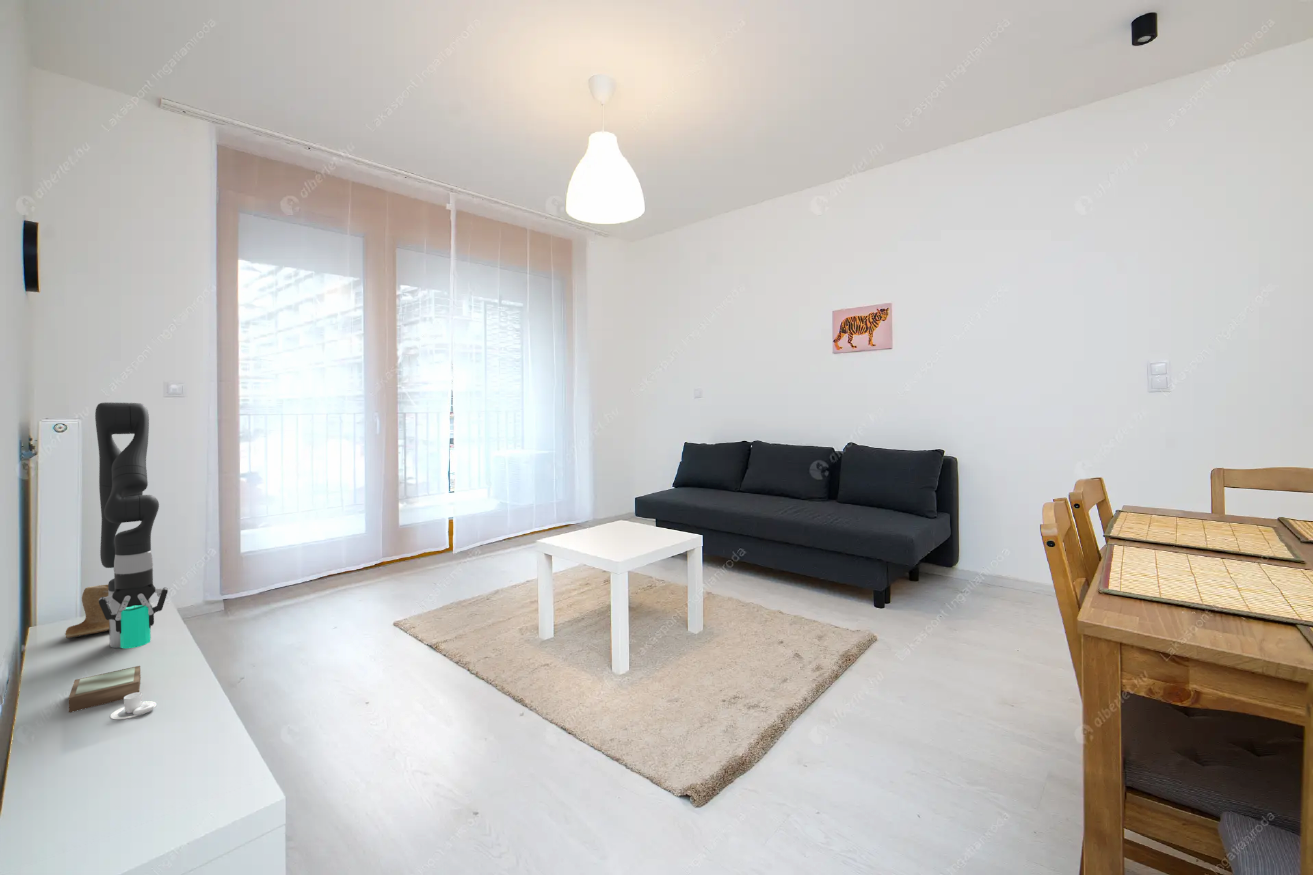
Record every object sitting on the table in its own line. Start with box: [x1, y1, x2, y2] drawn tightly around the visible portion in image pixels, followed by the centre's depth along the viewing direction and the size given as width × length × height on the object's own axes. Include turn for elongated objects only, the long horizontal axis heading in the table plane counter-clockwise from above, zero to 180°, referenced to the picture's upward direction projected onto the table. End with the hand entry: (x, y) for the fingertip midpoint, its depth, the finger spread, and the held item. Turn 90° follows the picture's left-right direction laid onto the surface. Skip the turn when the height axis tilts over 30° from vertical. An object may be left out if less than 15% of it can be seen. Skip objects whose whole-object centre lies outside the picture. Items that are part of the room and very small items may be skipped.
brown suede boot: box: [64, 583, 109, 639], centre depth 176 cm, size 15×12×15 cm
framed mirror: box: [68, 665, 142, 713], centre depth 136 cm, size 12×12×4 cm
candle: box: [120, 605, 151, 649], centre depth 148 cm, size 6×6×12 cm
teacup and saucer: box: [109, 691, 157, 721], centre depth 129 cm, size 9×8×4 cm
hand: (135, 629), depth 148 cm, fingers closed on candle, 4 cm apart
